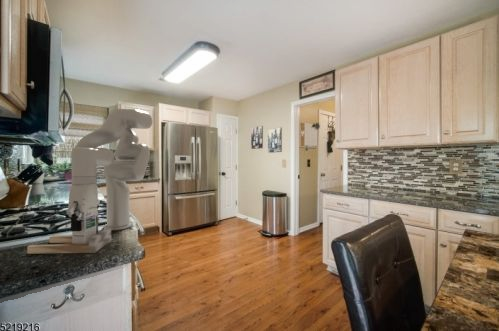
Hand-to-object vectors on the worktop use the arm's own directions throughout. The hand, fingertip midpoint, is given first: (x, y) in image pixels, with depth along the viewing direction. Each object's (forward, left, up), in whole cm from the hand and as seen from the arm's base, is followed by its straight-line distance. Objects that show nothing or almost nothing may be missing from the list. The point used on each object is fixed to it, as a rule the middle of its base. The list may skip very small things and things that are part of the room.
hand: (85, 226), depth 84 cm
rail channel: (0, -5, -8) cm, 9 cm away
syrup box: (0, 0, -8) cm, 8 cm away
